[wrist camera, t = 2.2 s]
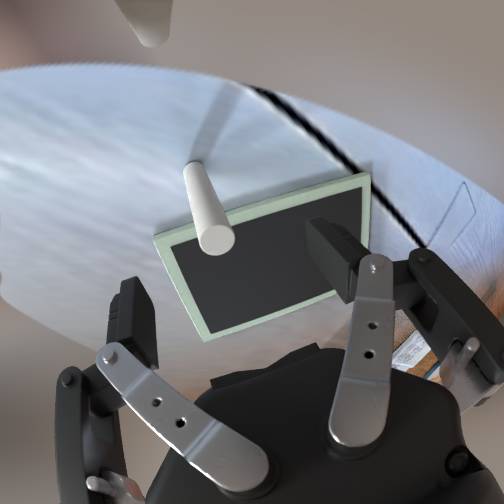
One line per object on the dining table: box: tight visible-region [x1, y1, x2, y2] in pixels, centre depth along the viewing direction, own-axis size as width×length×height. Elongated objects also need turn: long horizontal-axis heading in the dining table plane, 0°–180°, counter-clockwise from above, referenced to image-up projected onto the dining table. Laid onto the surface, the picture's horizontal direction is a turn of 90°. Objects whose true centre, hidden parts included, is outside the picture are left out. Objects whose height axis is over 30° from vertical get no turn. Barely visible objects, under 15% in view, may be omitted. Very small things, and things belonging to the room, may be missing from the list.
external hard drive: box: [424, 361, 441, 380], centre depth 86 cm, size 24×12×2 cm, turn 79°
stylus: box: [183, 161, 235, 255], centre depth 19 cm, size 2×2×12 cm
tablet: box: [153, 172, 371, 342], centre depth 32 cm, size 16×23×1 cm
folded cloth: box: [392, 330, 431, 372], centre depth 62 cm, size 19×20×2 cm
